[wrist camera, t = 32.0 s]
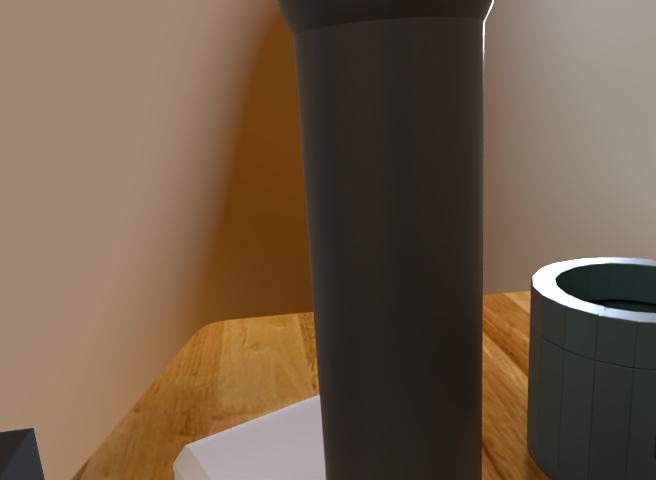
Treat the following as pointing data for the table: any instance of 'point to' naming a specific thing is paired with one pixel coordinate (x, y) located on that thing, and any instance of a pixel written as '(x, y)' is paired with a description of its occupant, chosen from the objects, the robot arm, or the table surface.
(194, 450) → the charger
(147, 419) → the table surface
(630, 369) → the dark grey pipe sleeve
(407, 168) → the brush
